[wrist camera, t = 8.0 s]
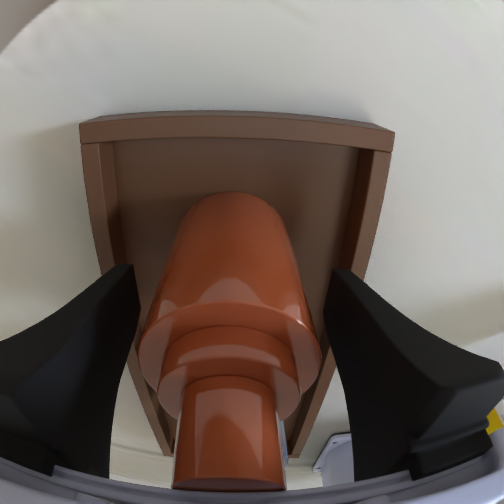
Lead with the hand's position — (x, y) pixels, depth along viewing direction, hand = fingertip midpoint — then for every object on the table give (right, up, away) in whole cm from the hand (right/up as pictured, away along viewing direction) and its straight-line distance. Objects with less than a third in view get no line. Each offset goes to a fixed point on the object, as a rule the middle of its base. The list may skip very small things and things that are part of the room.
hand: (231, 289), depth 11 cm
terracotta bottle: (0, +2, +3) cm, 3 cm away
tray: (0, -4, +7) cm, 8 cm away
